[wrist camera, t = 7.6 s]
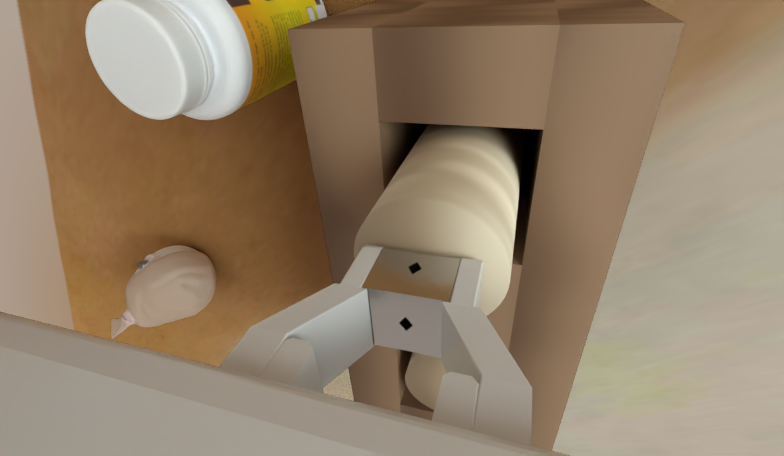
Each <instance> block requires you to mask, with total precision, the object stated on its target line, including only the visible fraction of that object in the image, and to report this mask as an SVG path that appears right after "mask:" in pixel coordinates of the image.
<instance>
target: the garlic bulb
mask: <svg viewBox="0 0 784 456" xmlns="http://www.w3.org/2000/svg"><path fill="white" fill-rule="evenodd" d="M138 266H139V267H140V268H138V269H137V270H136V272H135V274H134V275H132V276H131V278H130V279H129V282H128V284H127V286H126V300H127V310H126V311H125V312H124V313H123V315H122V316H121V317H120V318H118V319H111V339H112V338H114V337H115V336H117V335H119V334H120V333H122V332H123V331H124V330H125V329H126V328H127V327H128V326H130V325H132V324H137V325H138V326H140V327H154V326H159V325H162V324H165V323H169V322H173V321H176V320H179V319H182V318H186V317H191V316H194V315H196V314H197V313H198V312H200V311H201V310H202V309H204V308H205V307H206V306H207V305H208V304H209V303H210V301H211V299H212V297H213V295H214V291H215V288H216V273H215V269H214V266H213V264H212V262H211V260H210V259H209V257H208V256H206V255H205V254H203V253H201V252H199V251H197V250H195V249H193V248H191V247H187V246H181V245H176V246H169V247H165V248H162V249H160V250H158V251H156V252H154V253H153V254H149V255H147V256H146V257H145V260H144V262H139V263H138Z"/></svg>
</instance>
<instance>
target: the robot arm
mask: <svg viewBox="0 0 784 456" xmlns="http://www.w3.org/2000/svg"><path fill="white" fill-rule="evenodd" d="M482 276H483V261H482V260H475V259H466V258H462V259H460V258H452V257H445V256H438V255H430V254H422V253H418V252H412V251H406V250H399V249H393V248H387V247H385V248H384V247H379V246H373V245H365V246H363V247H362V249H361V250H360V252H359V254H358V255H357V257H356V258H355V260H354V262H353V263H352V265H351V267H350V268H349V270H348V272H347V273H346V275H345V276H344V278H343V280H342V281H341V283H340V284H337V283H334V284H332V285H330V286H328V287H326V288H324V289H322V290H320V291H318V292H317V293H315V294H313V295H311V296H309V297H307V298H305V299H303V300H301V301H299V302H297V303H295V304H293V305H291V306H290V307H288V308H286V309H284V310H282V311H280V312H278V313H276V314H274V315H272V316H270V317H268V318H266V319H264V320H263V321H261V322H259V323H257V324H255V325H253V326H251V327H250V328H249V329H248V331H247V332H246V333H245V334H244V336H243V337H242V338H241V340H240V341H239V342H238V343H237V345H236V346H235V347H234V349H233V350H232V351H231V352H230V354H229V355H228V356H227V358H226V359H225V360H224V361H223V363H222V364H221V365H220V366H219V367H217V366H213V365H209V364H205V363H201V362H197V361H194V360H190V359H186V358H182V357H178V356H174V355H170V354H166V353H162V352H158V351H154V350H150V349H146V348H142V347H138V346H134V345H130V344H126V343H122V342H118V341H114V340H110V339H106V338H102V337H98V336H94V335H90V334H87V333H83V332H79V331H75V330H71V329H66V328H62V327H59V326H55V325H51V324H46V323H43V322H39V321H35V320H30V319H27V318H23V317H19V316H15V315H11V314H7V313H3V312H0V456H570V455H566V454H562V453H558V452H554V451H550V450H546V449H542V448H538V447H534V446H531V428H532V387H531V385H530V384H529V382H528V380H527V379H526V377H525V376H524V374H523V373H522V371H521V369H520V368H519V366H518V365H517V363H516V362H515V360H514V359H513V357H512V355H511V354H510V352H509V351H508V349H507V348H506V346H505V345H504V343H503V341H502V340H501V338H500V337H499V335H498V334H497V332H496V330H495V329H494V327H493V326H492V324H491V323H490V321H489V320H488V318H487V316H486V315H485V313H484V312H483V310H482V309H481V308H479V306H480V297H481V286H482ZM373 345H378V346H384V347H390V348H395V349H401V350H406V351H411V352H415V353H419V354H423V355H428V356H432V357H436V358H440V359H441V361H442V364H443V366H444V369H445V371H446V374H445V375H443V378H442V382H441V385H440V389H439V393H438V397H437V401H436V405H435V409H434V413H433V417H432V421H431V420H427V419H423V418H419V417H415V416H411V415H407V414H403V413H399V412H395V411H391V410H387V409H383V408H379V407H376V406H372V405H368V404H364V403H360V402H356V401H352V400H348V399H344V398H340V397H336V396H332V395H328V394H324V393H323V388H324V387H325V386H326V385H327V384H329V383H330V382H331V381H332V380H333V379H335V378H336V377H337V376H338V375H340V374H341V373H342V372H343V371H344V370H346V369H347V368H348V367H349V366H351V365H352V364H353V363H354V362H355V361H357V360H358V359H359V358H360V357H362V356H363V355H364V354H365V353H366V352H368V351H369V350H370V349H371V348H372V347H374V346H373Z"/></svg>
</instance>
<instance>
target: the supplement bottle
mask: <svg viewBox="0 0 784 456" xmlns="http://www.w3.org/2000/svg"><path fill="white" fill-rule="evenodd" d="M325 17H327V13H326V10H325V6H324V4H323V1H322V0H103V1H100V2H99V3H97V4H96V5H95V6H94V7H93V8H92V9H91V11H90V12H89V15H88V17H87V20H86V29H85V34H86V43H87V47H88V52H89V54H90V57H91V60H92V62H93V65H94V67H95V69H96V71H97V73H98V74H99V76H100V78H101V79H102V81H103V82H104V84H105V85H106V86H107V88H108V89H109V90H110V91H111V92H112V94H113V95H114V96H115V97H116V98H117V99H118V100H119V101H120V102H121V103H123V104H124V105H125V106H127V107H128V108H129V109H131V110H132V111H134V112H136V113H138V114H140V115H142V116H144V117H147V118H151V119H157V120H164V119H169V118H172V117H174V116H177V115H179V114H183V115H185V116H187V117H190V118H194V119H199V120H215V119H219V118H222V117H225V116H228V115H230V114H232V113H234V112H236V111H238V110H240V109H241V108H243V107H245V106H247V105H249V104H251V103H253V102H255V101H257V100H259V99H260V98H262V97H264V96H266V95H268V94H270V93H272V92H274V91H276V90H278V89H280V88H281V87H283V86H285V85H287V84H289V83H291V82H293V81H295V80H296V74H295V69H294V63H293V58H292V52H291V46H290V41H289V35H288V30H287V29H290V28H293V27H296V26H300V25H303V24H306V23H309V22H312V21H315V20H318V19H322V18H325Z"/></svg>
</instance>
